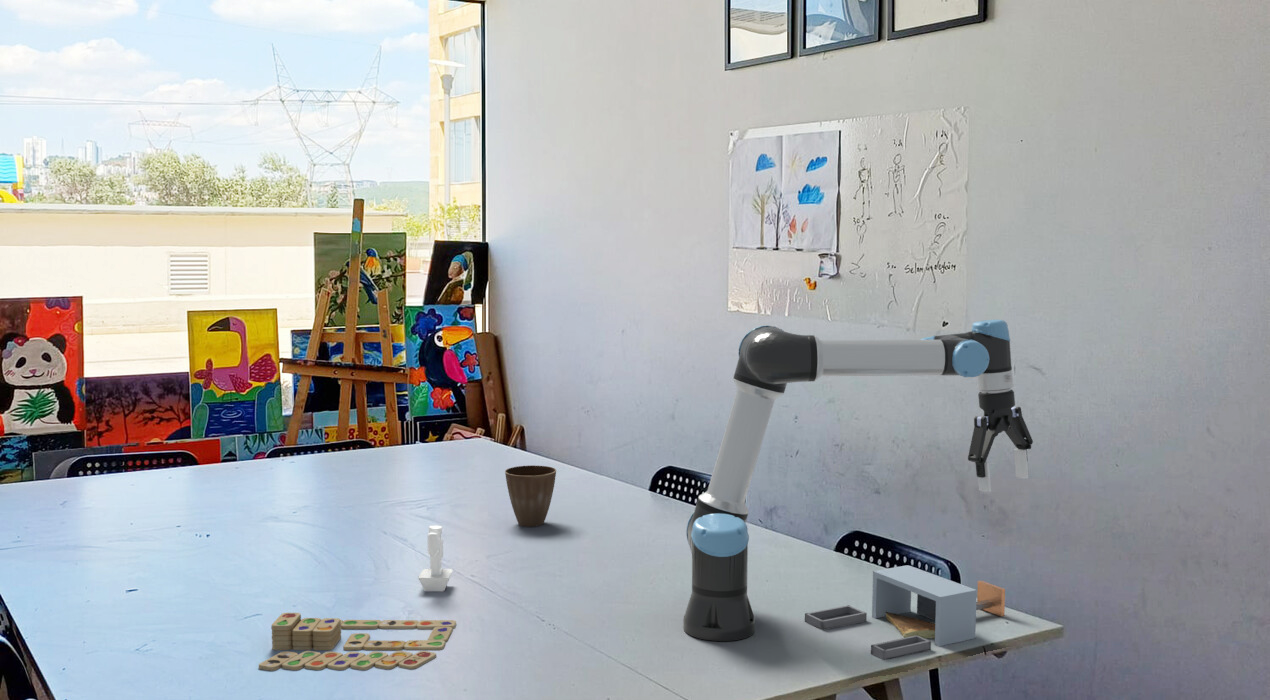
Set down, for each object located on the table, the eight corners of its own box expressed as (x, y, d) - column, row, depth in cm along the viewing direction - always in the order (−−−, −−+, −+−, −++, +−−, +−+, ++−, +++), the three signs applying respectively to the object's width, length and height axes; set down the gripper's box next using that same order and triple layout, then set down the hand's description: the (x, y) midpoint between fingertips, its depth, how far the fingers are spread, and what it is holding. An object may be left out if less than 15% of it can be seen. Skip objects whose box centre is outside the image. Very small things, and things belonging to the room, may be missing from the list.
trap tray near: (884, 660, 212) (884, 651, 212) (870, 653, 216) (871, 644, 215) (930, 650, 218) (930, 641, 218) (916, 643, 221) (916, 635, 221)
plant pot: (554, 530, 311) (553, 475, 310) (502, 530, 312) (501, 475, 310) (558, 518, 326) (558, 465, 325) (508, 517, 326) (508, 465, 325)
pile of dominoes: (252, 673, 206) (251, 645, 205) (294, 625, 233) (294, 599, 232) (436, 672, 206) (435, 644, 206) (457, 624, 233) (456, 599, 233)
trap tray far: (822, 630, 229) (822, 621, 229) (804, 621, 234) (804, 613, 234) (866, 621, 235) (866, 613, 235) (848, 613, 240) (848, 605, 240)
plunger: (963, 632, 227) (964, 604, 227) (916, 613, 240) (917, 586, 239) (1016, 621, 235) (1017, 593, 234) (968, 602, 247) (969, 576, 246)
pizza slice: (885, 619, 237) (885, 609, 237) (926, 619, 238) (927, 609, 238) (902, 641, 224) (902, 630, 224) (946, 640, 225) (947, 630, 225)
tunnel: (939, 646, 220) (940, 597, 219) (872, 616, 238) (873, 571, 237) (975, 638, 225) (976, 589, 224) (906, 609, 242) (907, 565, 242)
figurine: (454, 582, 262) (453, 521, 260) (448, 594, 252) (447, 531, 251) (424, 582, 262) (423, 521, 260) (417, 594, 252) (416, 531, 251)
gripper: (974, 400, 229) (983, 499, 231) (1044, 381, 243) (1051, 474, 245) (945, 399, 235) (954, 495, 237) (1015, 380, 249) (1022, 471, 251)
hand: (1004, 484), depth 241 cm, fingers open, 13 cm apart
